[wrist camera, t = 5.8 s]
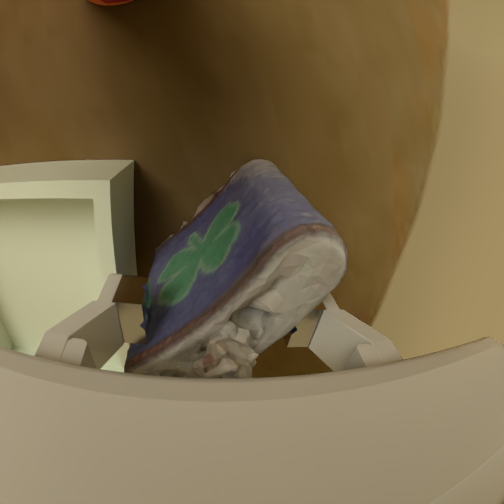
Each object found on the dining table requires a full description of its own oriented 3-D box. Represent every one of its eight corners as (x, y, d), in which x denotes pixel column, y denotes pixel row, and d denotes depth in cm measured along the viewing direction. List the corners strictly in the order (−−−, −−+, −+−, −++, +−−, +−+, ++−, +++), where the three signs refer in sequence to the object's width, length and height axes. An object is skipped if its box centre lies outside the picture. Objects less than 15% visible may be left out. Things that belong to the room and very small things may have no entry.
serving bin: (14, 342, 18) (0, 372, 15) (-38, 171, 10) (-72, 191, 7) (149, 366, 21) (145, 405, 18) (134, 160, 13) (109, 180, 10)
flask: (258, 147, 14) (359, 250, 5) (292, 185, 15) (405, 321, 6) (143, 258, 16) (102, 425, 7) (179, 285, 17) (171, 450, 8)
